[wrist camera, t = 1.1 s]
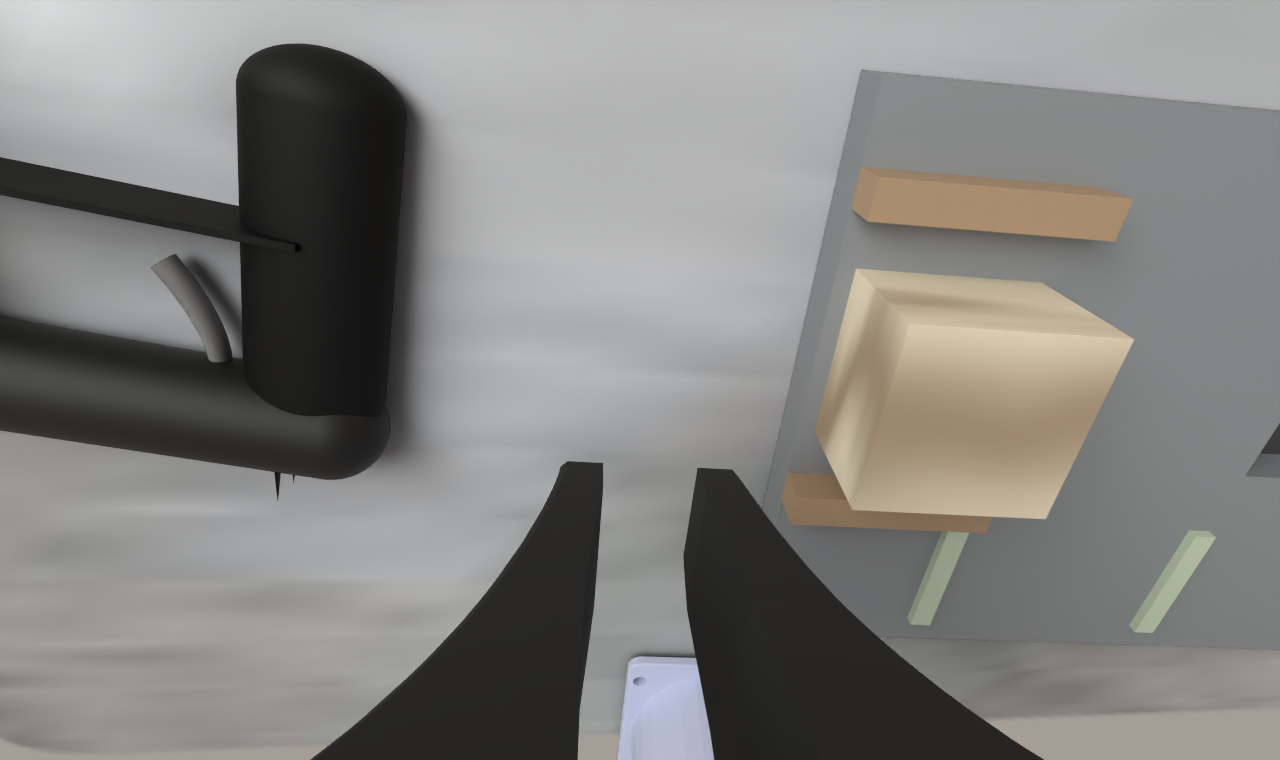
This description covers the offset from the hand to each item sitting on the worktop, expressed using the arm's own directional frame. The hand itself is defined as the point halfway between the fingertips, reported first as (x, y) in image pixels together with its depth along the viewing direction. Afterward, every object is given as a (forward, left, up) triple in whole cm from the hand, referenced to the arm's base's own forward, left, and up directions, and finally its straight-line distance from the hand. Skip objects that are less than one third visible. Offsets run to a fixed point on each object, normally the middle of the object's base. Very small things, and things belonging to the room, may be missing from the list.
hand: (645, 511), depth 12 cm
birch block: (0, -8, -7) cm, 11 cm away
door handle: (+3, +16, -9) cm, 19 cm away
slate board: (-2, -17, -8) cm, 19 cm away
